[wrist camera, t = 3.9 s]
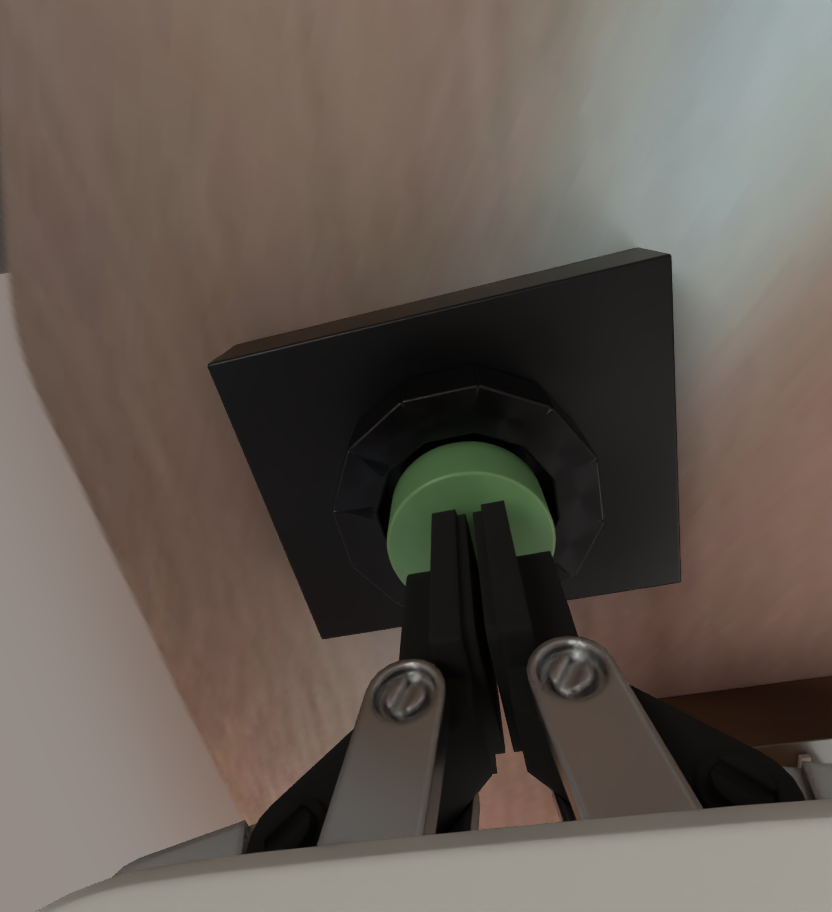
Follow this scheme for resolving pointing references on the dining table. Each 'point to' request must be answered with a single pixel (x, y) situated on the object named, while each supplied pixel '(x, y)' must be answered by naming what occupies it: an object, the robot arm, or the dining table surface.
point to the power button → (465, 501)
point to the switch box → (471, 425)
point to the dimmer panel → (771, 718)
